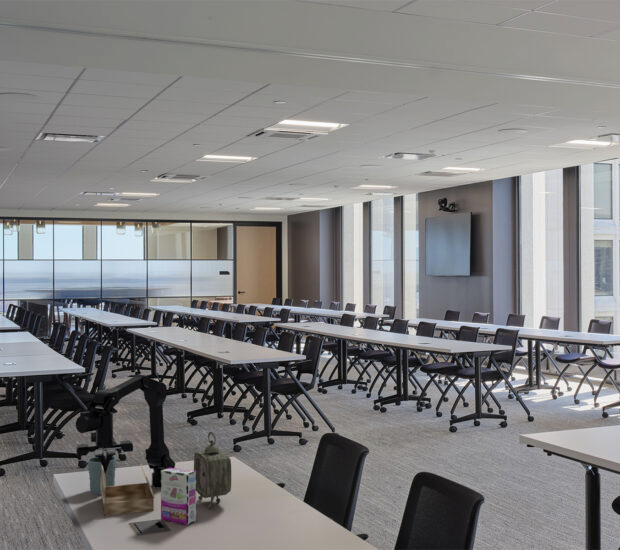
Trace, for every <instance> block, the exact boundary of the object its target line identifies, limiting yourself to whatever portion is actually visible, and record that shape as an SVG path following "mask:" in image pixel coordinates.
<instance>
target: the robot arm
mask: <svg viewBox="0 0 620 550" xmlns="http://www.w3.org/2000/svg"><path fill="white" fill-rule="evenodd" d="M137 390H140V391H141V392H143V396H144V400H145V401H146V404H147V405H148V407H149V410H148V411H149V413H148V414H149V429H150V430H149V431H150V444H149V446H148V448H145V460H146V464H148V467H149V468H148V469H149V470H152V471H153V472H151V485H152V486H153V488H154V489H156V488H157V489H158V488H159V489H160V488H161V471H162V470H164V469H167V468H176V462H175V461H174V460H173V458H171V456H170V450H169V447H168V445H167V444H166V443H165V429H164V408H163V405H164V403H165V402H166V399H167V391H168V387H167V385H166V384H165V383H164V382H161V381H158V380H156V379H153V378H152V377H150V376H148V375H146V374H139V373H138V374H136V375H134V376H133V377H131V378H130V379H127V380H125V381H124V382H122V383H119V384H118V385H116V386H114V387H110V388H103V389H101V390H98V391H95V392H94V394H93V397H92V398H91V400H90V402H89V405H88V407H87V408H86V411H82V412H80V413H79V416H78V417H77V419H76V421H75V429H76V430H77V432H79V433H80V434H85V433H90V442H91V443H94V444H95V445H91V446H89V443H82V444H81V443H80V444H77V445H76V447H75V450H76V452H75V454H76V457H81V456H87V455H88V454H89V453H94V457H99V459H100V461H101V463H102V466H103V469H104V472H105V473H106V471H107V468H108V465H109V462H110V460H111V458H112V456H116V451H117V450H121V451H122V452H123V453H128V452H129V453H130V452H134V443H133V441H132V440H131V439H129V440H121V441H120V442H119V443H115V444H114V414H118V410H117V409H116V408H114V407H115V406H117V405H118V404H119V403H120V400H121V399H123V398H124V397H127V396H129V395H131V394H132V393H133V392H136V391H137ZM93 431H95V432H93ZM104 453H105V454H104ZM105 455H106V456H105ZM104 456H105V458H104Z"/></svg>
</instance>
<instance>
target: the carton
mask: <svg viewBox="0 0 620 550" xmlns="http://www.w3.org/2000/svg"><path fill="white" fill-rule="evenodd" d="M101 501H102V507H103V514H104V516H113V515H114V516H115V515H124V514H133V513H143V512H153V511H155V507H154V506H155V498H153V496H152V493H151V491H150V488H149V486H148V483H147V482H142V483H141V482H140V483H129V484H128V483H127V484H119V485H118V484H117V485H115V486H106V490H105V503H103V499H102V498H101Z"/></svg>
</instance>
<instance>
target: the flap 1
mask: <svg viewBox="0 0 620 550" xmlns="http://www.w3.org/2000/svg"><path fill="white" fill-rule="evenodd" d="M100 488H101V494H100V495H101V500H102V499H103V502H102V504H103V503H105V490H106V476H105V472H104V469H103V466H101V484H100Z"/></svg>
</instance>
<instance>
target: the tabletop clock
mask: <svg viewBox="0 0 620 550" xmlns="http://www.w3.org/2000/svg"><path fill="white" fill-rule="evenodd" d="M207 435H208V436H207V439H208V443H209V445H207V446H206V447H205V448H204V451H198V452H197V451H196V452H194V456H193V458H194V459H193V471H196V494H198V495H199V496H198V497H197V499H198V500H199V501H203V498H204V499H207V498H210V502H209V504H208V509H209V510H212V509H213V507H214V505H213V501H214V499H215V502H216V503H217V504H219V503H221V498H219V497H221V496H226V495H227V494H229V493H230V492H231V491H232V462H231V458H230V456H228V455H227V454H226V453H223V452H222V451H220V450H219V447H218V446H217V445H215V444H216V442H217V439H216V434H215V433H214V432H213V431H209V432H208V434H207ZM210 435H212V437H213V439H210Z"/></svg>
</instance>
